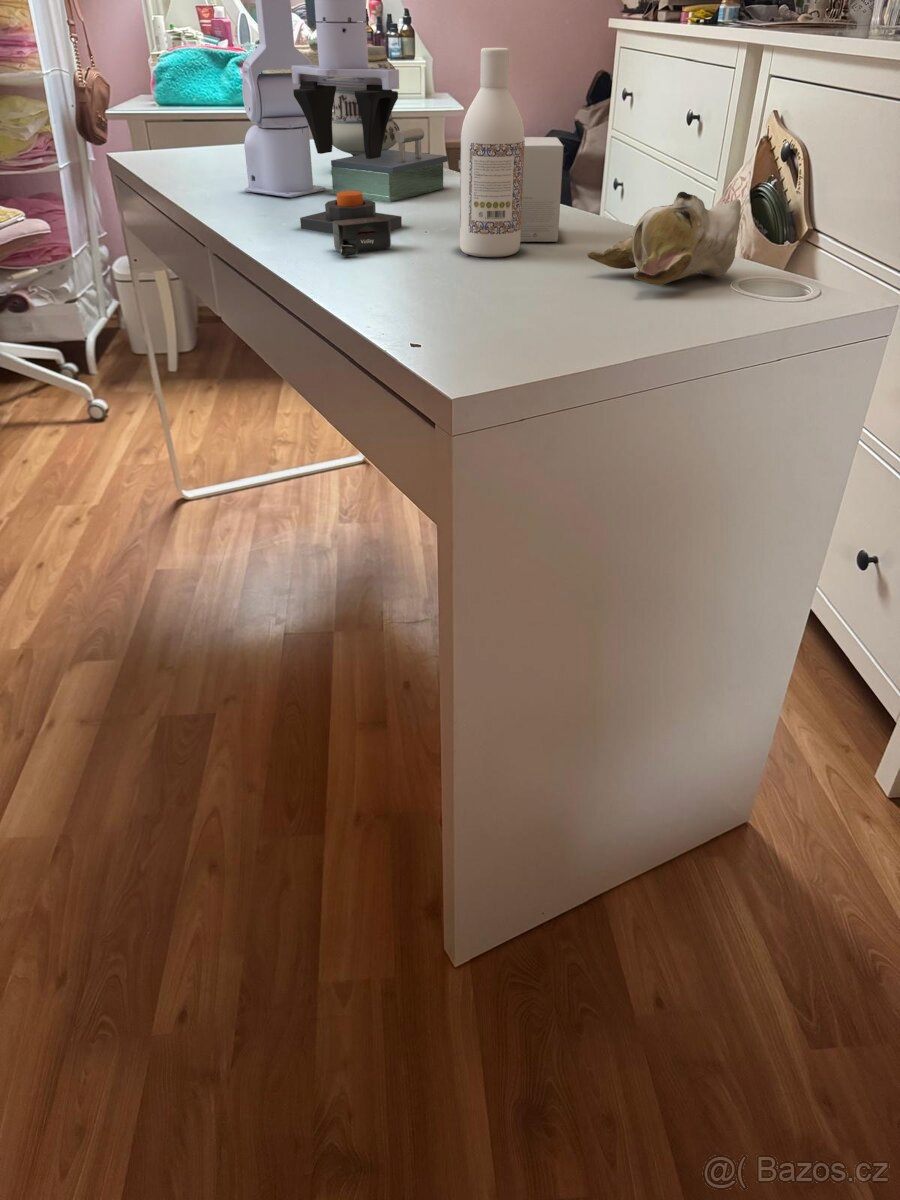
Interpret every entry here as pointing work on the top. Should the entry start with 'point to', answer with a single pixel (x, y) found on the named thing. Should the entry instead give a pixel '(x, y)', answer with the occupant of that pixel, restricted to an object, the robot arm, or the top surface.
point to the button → (349, 198)
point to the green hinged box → (388, 182)
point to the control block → (344, 216)
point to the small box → (541, 189)
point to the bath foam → (491, 164)
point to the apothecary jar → (348, 115)
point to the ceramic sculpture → (678, 241)
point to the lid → (394, 156)
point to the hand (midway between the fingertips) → (348, 155)
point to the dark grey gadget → (361, 235)
